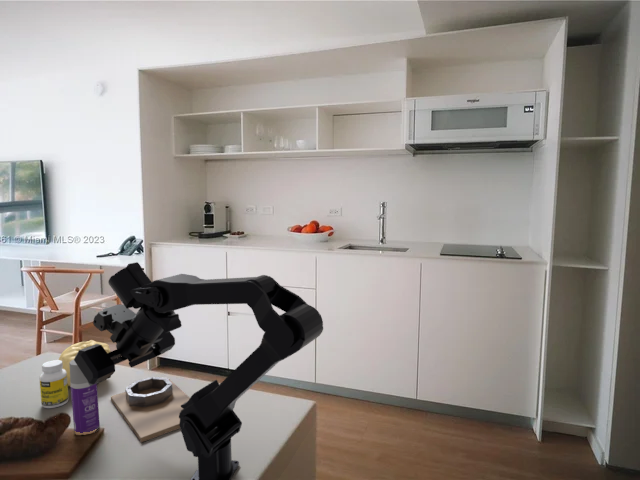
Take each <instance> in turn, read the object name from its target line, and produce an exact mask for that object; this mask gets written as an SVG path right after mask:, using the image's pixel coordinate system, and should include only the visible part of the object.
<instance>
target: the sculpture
mask: <svg viewBox="0 0 640 480" xmlns="http://www.w3.org/2000/svg"><path fill="white" fill-rule="evenodd" d="M95 344H100V345H102V346H103V348H104V349H105V351H106V352H107V353H109V352H111V351H112V350H111V349H110V345H109V344H108V343H104V342H101V341H95V340H93V339H90V340H88V341H80V342H76V343H74V344H72V345H70V346H68V347H67V348H66V349H64V350H63V351H62V352H61V354H60V356H59V357H58V360H61V361H62V364H63V368H62V369H64V370H66V372H67V383H68V387H69V388H71V384H70V364H69V363H70V361H72V360H73V359H74V358H75V356H76V354H77V353H78V351H79V350H81V349H84V348H87V347H89V346H92V345H95Z"/></svg>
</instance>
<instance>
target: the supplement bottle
mask: <svg viewBox="0 0 640 480" xmlns="http://www.w3.org/2000/svg"><path fill="white" fill-rule="evenodd" d="M62 368H63V364H62V361H61V360H59V359H54V360H48V361H45V362H43V363H42V365H41V371H42V373H41V374H40V376H39V389H40V400H41V401H40V402H41V406H42V408H45V409H54V408H58V407H62V406H64V405H65V404H66V403H68V401H69V399H70V398H69V397H70V396H69V388H68V387H69V386H68V383H67V372H66V370H64V369H62Z"/></svg>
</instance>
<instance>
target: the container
mask: <svg viewBox="0 0 640 480" xmlns="http://www.w3.org/2000/svg"><path fill="white" fill-rule="evenodd" d="M69 364H70V384H71V387H70V396H71V408H72V417H73V418H72V419H73V421H72V422H73V432H74V431H76V432H80V433H83V432H90V431H93V430H95V429H98V428H99V429H100V427H101V425H100V424H101V423H100V412H99V411H100V410H99V409H100V408H99V399H98V383H97V384H95V385H92V386H90V385H89V384H88V382H87V381H88V380H87V379H86V377H85V376H84V374H83V373H82V371H81V370H80V368H79V367H78V365H77V364H76V362H75V361H74V359H73V360H72V361H70V363H69ZM99 429H98V430H99Z"/></svg>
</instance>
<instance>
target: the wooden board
mask: <svg viewBox="0 0 640 480" xmlns="http://www.w3.org/2000/svg"><path fill="white" fill-rule="evenodd" d="M168 379H169V381H170V382H171V383H172V389H173V394H172V395H171V396H170V397H169V398H168V399H167V400H166V401H165V402H163V403H160V404H156V405H153V406H149V407H136V406H129V404H128V402H127V400H126V392H125V391H124V392H120V393H117V394H113V395H111V396H110V401H111V402H112V404H113V405H114V407H115V408H116V409H117V411H118V412H119V414H120V415H121V416H122V417H123V419H124V421H125V422H126V423H127V425H128V426H129V427H130V430H132V432H133V433H134V434H135V436H136V437H137V438H138V440H139V442H140V443H143V442H146V441H149V440H152V439H155V438H157V437H161V436H163V435H165V434H168V433H170V432H173V431H176V430H179V429H180V418H179V414H180V412H181V410H182V409H183V408H182V407H181V405H182V404H184V403H185V402H187V401H188V400H189V399H190V397H191V396H188V394H186V392H185V391H183V390H182V388H180V387H179V386H178V385H177V384H175V383H174V382H173V380H171V378H168ZM161 390H162V389H154V388H152V389H148V390H144V391H140V392H138V393H137V394H145V395H146V394H150V393H154V392H158V391H161Z"/></svg>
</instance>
